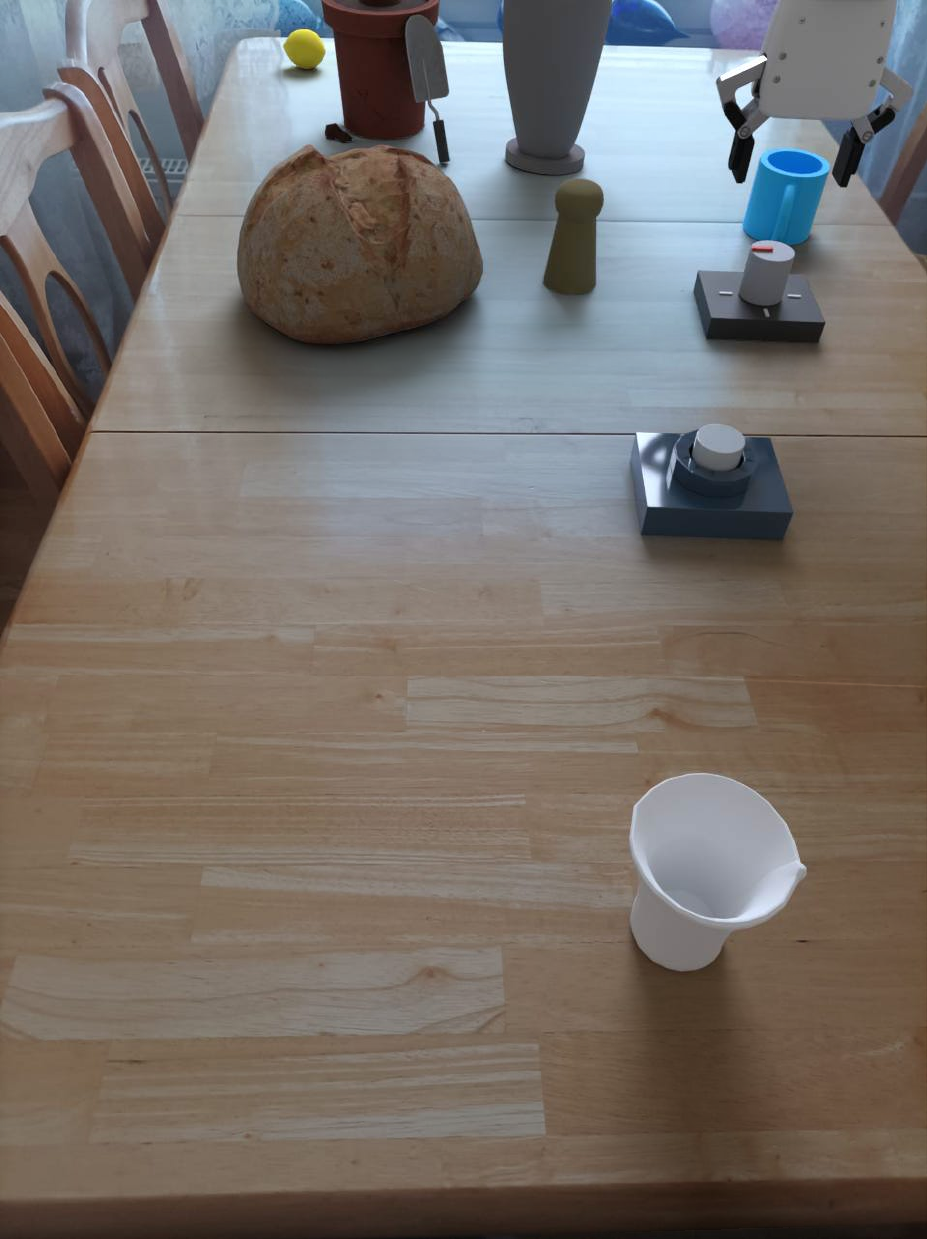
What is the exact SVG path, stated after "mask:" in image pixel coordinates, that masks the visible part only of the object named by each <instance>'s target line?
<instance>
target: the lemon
mask: <svg viewBox="0 0 927 1239" xmlns="http://www.w3.org/2000/svg"><path fill="white" fill-rule="evenodd" d="M324 44H325V43H324V42H323V40H322V38H321V37H320V36H319V34H318V33H317V32H315V31H313V30H311V29H308V28H299V29H296V30H295V31H292V32H291V33H290V34H289V35H288V37H287V38H286V40H285V41H284V42H283V45H282V48H283V50H284V52H285V54H286V56H287V57H288V59H289V60H290V62H291V63H292V64H294V65H295V66H296V67H298V68H300V69H305V70H311V69H314V68H316V67H317V66H319V65H320V64H321V63H322V61H323V60H324V58H325V55H326V47H325V45H324Z"/></svg>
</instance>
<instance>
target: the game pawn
mask: <svg viewBox="0 0 927 1239" xmlns="http://www.w3.org/2000/svg"><path fill="white" fill-rule="evenodd" d="M604 202H605V195H604V191H603V188H602V186H600V185H599V184H598V183H597V182H595V181H593V180H591V179H587V178H582V177H581V178H580V177H579V178H578V177H576V178H571V179H567V180H565V181H563V182H561V184H560V185H559V186H558V188H557V190H556V192H555V195H554V206H555V211H556V212H557V214H558V215H557V219H556V222H555V223H556V224H555V227H554V231H553V236H552V239H551V244H550V247H549V253H548V257H547V260H546V265H545V269H544V273H543V278H542V280H543V284H544V285H545V287H546V288H548V289H549V290H551V291H553V292H555V293H558V294H563V295H570V296H571V295H572V296H577V295H583V294H586V293H589V292H592V290H594V289H595V287H596V285H597V217H598V216H600V214H601V212H602V209H603V207H604Z"/></svg>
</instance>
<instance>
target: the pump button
mask: <svg viewBox="0 0 927 1239" xmlns="http://www.w3.org/2000/svg"><path fill="white" fill-rule="evenodd" d="M698 429H699V430H698V432H697V434H696V438H695V442H694V446H693V449H692V458H693V460H694V461H695V462H696V463H697V464H698V465H699V466H701V467H703V468H706V469H709V470H711V471H721V472H728V471H731V470H733V469H735V468H736V467H737V466H738V464H739V462H740V459H741V456H742V452H743V449H744V446H745V438H744V437H745V435H743V433H742V432H741V431H739V430H738V429H737V428H735V427H733V426H731V425H727V424H723V423H709V424H705V425H703V426H701V427H700V428H698Z"/></svg>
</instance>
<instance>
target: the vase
mask: <svg viewBox="0 0 927 1239" xmlns="http://www.w3.org/2000/svg"><path fill="white" fill-rule="evenodd" d="M612 8H613V0H503V7H502V58H503V68H504V75H505V83H506V88H507V94H508V99H509V105H510V110H511V111H510V112H511V116H512V122H513V126H514V127H513V128H514V133H515V137H514V138H512V139H510V140H508V141H507V142H506V143H505V155H504V158H505V160H506V162H507V163H509V165H511V166H513V167H514V168H517V169H520V170H523V171H525V172H529V173H534V174H540V175H549V176H550V175H551V176H552V175H553V176H554V175H555V176H556V175H557V176H560V175H568V174H569V175H570V174H573V173H576V172H577V173H578V172H579V171H581V170H582V169H583V167H584V163H585V158H586V157H585V156H586V151H585V149H584V148H583V147H581V146H580V145H579V144H577V143H576V141H577V140H578V137H579V134H580V131H581V129H582V126H583V122H584V118H585V115H586V112H587V110H588V109H587V108H588V106H589V102H590V98H591V94H592V91H593V88H594V84H595V80H596V76H597V72H598V69H599V64H600V61H601V58H602V53H603V50H604V45H605V41H606V36H607V33H608V29H609V24H610V20H611V14H612Z"/></svg>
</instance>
